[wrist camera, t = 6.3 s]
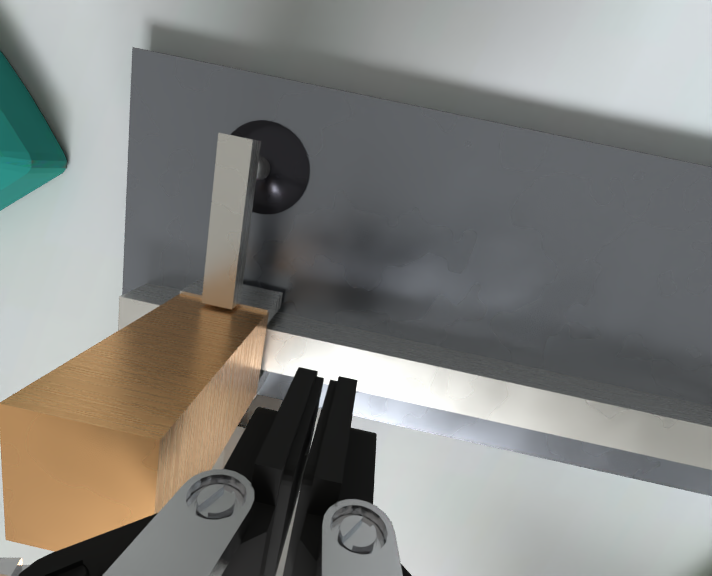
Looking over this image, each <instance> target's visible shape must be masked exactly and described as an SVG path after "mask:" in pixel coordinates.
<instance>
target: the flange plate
mask: <svg viewBox="0 0 712 576" xmlns="http://www.w3.org/2000/svg"><path fill="white" fill-rule="evenodd" d="M218 133H223V134H229V135H234V136H238V137H243V138H248V139H252V140H257V141H261V146H260V154H259V156H262V157H264V158H265V159H267V161H268V162H269V164H270V173H269V175H268V176H267V177H266V178H265V179H262V180H256V185H255V193H254V201H253V209H252V217H251V224H250V232H249V240H248V248H247V256H246V263H245V271H244V279H243V284H245V285H250V286H254V287H259V288H263V289H268V290H273V291H277V292H282V293H283V295H282V301H281V307H280V309H279V310H278V312H283V313H288V314H292V315H297V316H301V317H306V318H310V319H315V320H319V321H324V322H329V323H333V324H338V325H342V326H347V327H351V328H356V329H360V330H365V331H370V332H374V333H379V334H383V335H388V336H392V337H397V338H401V339H406V340H411V341H415V342H420V343H424V344H429V345H433V346H438V347H442V348H447V349H452V350H456V351H461V352H465V353H470V354H474V355H479V356H483V357H488V358H493V359H497V360H502V361H506V362H511V363H515V364H520V365H524V366H529V367H533V368H538V369H543V370H547V371H552V372H556V373H561V374H565V375H570V376H574V377H579V378H584V379H588V380H593V381H597V382H602V383H606V384H611V385H615V386H620V387H625V388H629V389H634V390H638V391H643V392H647V393H652V394H656V395H661V396H666V397H670V398H675V399H679V400H684V401H688V402H693V403H697V404H702V405H707V406H711V407H712V167H709V166H704V165H699V164H694V163H689V162H685V161H680V160H675V159H670V158H665V157H660V156H656V155H651V154H646V153H641V152H636V151H631V150H627V149H622V148H617V147H612V146H607V145H602V144H598V143H593V142H588V141H583V140H578V139H574V138H569V137H564V136H559V135H554V134H549V133H545V132H540V131H535V130H530V129H525V128H520V127H516V126H511V125H506V124H501V123H496V122H491V121H487V120H482V119H477V118H472V117H467V116H462V115H458V114H453V113H448V112H443V111H438V110H433V109H429V108H424V107H419V106H414V105H409V104H404V103H400V102H395V101H390V100H385V99H380V98H375V97H371V96H366V95H361V94H356V93H351V92H346V91H342V90H337V89H332V88H327V87H322V86H317V85H313V84H308V83H303V82H298V81H293V80H288V79H284V78H279V77H274V76H269V75H264V74H259V73H255V72H250V71H245V70H240V69H235V68H230V67H226V66H221V65H216V64H211V63H206V62H201V61H197V60H192V59H187V58H182V57H177V56H172V55H168V54H163V53H158V52H153V51H148V50H143V49H139V48H134V47H133V49H132V74H131V98H130V122H129V146H128V171H127V195H126V219H125V243H124V268H123V292H122V295H123V294H125V293H128V292H130V291H132V290H134V289H136V288H138V287H140V286H142V285H144V284H146V283H151V284H155V285H160V286H165V287H169V288H174V289H178V290H182V289H184V288H186V287H187V286H189V285H191V284H193V283H194V282H196V281H198V280H199V279H201V278H203V277H204V273H205V262H206V252H207V242H208V232H209V222H210V212H211V202H212V192H213V182H214V172H215V162H216V152H217V142H218ZM293 378H294V377H292V376H288V375H283V374H279V373H274V372H270V374H269V375H268V377H267V379H266V380H265V382H264V384H263V385H262V387H261V389H260V391H259V392H258V394H259V395H263V396H268V397H272V398H277V399H281V400H284V398H285V395H286V393H287V391H288V389H289V387H290V385H291V382H292V380H293ZM327 388H328V384H324V383H323V387H322V392H321V397H320V402H319V407H318V408H321V409H322V406H323V403H324V399H325V396H326V392H327ZM353 416H357V417H361V418H366V419H370V420H375V421H379V422H384V423H388V424H393V425H397V426H402V427H406V428H411V429H415V430H419V431H424V432H428V433H433V434H437V435H442V436H446V437H451V438H455V439H460V440H464V441H468V442H473V443H477V444H482V445H486V446H491V447H495V448H500V449H504V450H509V451H513V452H518V453H522V454H526V455H531V456H535V457H540V458H544V459H549V460H553V461H558V462H562V463H567V464H571V465H576V466H580V467H584V468H589V469H593V470H598V471H602V472H607V473H611V474H616V475H620V476H625V477H629V478H633V479H638V480H642V481H647V482H651V483H656V484H660V485H665V486H669V487H674V488H678V489H683V490H687V491H691V492H696V493H700V494H705V495H709V496H712V470H710V469H705V468H701V467H696V466H692V465H687V464H683V463H678V462H674V461H669V460H665V459H660V458H656V457H651V456H647V455H642V454H638V453H633V452H629V451H624V450H620V449H615V448H611V447H606V446H602V445H597V444H593V443H588V442H584V441H579V440H575V439H571V438H566V437H562V436H557V435H553V434H548V433H544V432H539V431H535V430H530V429H526V428H521V427H517V426H512V425H508V424H503V423H499V422H494V421H490V420H485V419H481V418H476V417H472V416H467V415H463V414H458V413H454V412H449V411H445V410H440V409H436V408H431V407H427V406H422V405H418V404H414V403H409V402H405V401H400V400H396V399H391V398H387V397H382V396H378V395H373V394H369V393H364V392H360V391H356V395H355V402H354V408H353Z"/></svg>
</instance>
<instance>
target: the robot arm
mask: <svg viewBox="0 0 712 576" xmlns="http://www.w3.org/2000/svg"><path fill="white" fill-rule="evenodd" d="M317 375H318V371H315V370H311V369H306V368H302V367H298V369H297V371H296V374H295V376H294V378H293V380H292V382H291V385H290V387H289V389H288V391H287V393H286V395H285V398H284V400H283V402H282V404H281V406H280V409H279V411H274V410H270V409H266V408H261V407H258V408H257V409H256V410H255V412H254V414H253V416H252V417H251V419H250V421H249V423H248V425H247V427H246V428H245V430H244V432H243V434H242V436H241V437H240V439H239V441H238V443H237V445H236V447H235V448H234V450H233V452H232V454H231V456H230V457H229V459H228V461H227V463H226V465H225V466H224V468H223V469H213V470H208V471H204V472H201V473H199V474H197V475H195V476H193V477H192V478H190V479H189V480H188V481H187V482H186V483H184V484H183V486H182V487H181V488H180V489H179V490H178V491H177V492H176V493H175V495H174V496H173V497H172V498H171V499H170V500H169V501H168V502H167V504H166V505H165V506H164V507H163V508H162V509H161V510H160V511H159V513H156V514H154V515H151V516H148V517H146V518H143V519H140V520H138V521H135V522H132V523H130V524H127V525H124V526H122V527H119V528H116V529H114V530H111V531H108V532H106V533H103V534H101V535H98V536H95V537H93V538H90V539H87V540H85V541H82V542H79V543H77V544H74V545H71V546H69V547H66V548H63V549H61V550H58V551H55V552H53V553H51V554H49V555H47V556H45V557H43V558H40V559H38V560H37V561H35V562H34V563H33V564H31V565H22V558H0V576H276V573H277V569H278V566H279V562H280V559H281V555H282V551H283V548H284V544H285V541H286V537H287V534H288V530H289V526H290V523H291V519H292V516H293V512H294V509H295V505H296V501H297V498H298V502H297V507H296V512H295V517H294V522H293V527H292V532H291V537H290V542H289V547H288V552H287V557H286V562H285V566H284V571H283V576H412V575H411V574H410V573H409V572H408V571H407V570H406V569H405V568H404V566H403V565H402V564H401V563H400V557H399V552H398V546H397V541H396V535H395V531H394V528H393V525H392V522H391V521H390V519H389V518H388V517H387V515H386V514H385V513H384V512H383V511H382V510H380V509H379V508H378V507H377V506H375V505H373V493H374V474H375V455H376V433H372V432H368V431H363V430H359V429H354V428H351V421H352V415H353V408H354V402H355V395H356V389H357V382H358V380H356V379H351V378H347V377H342V376H339V377H338V381H336V380H331V379H330V381H329V385H328V388H327V392H326V396H325V399H324V403H323V406H322V410H321V413H320V417H319V420H318V424H317V427H316V431H315V434H314V438H313V441H312V436H313V431H314V427H315V422H316V417H317V412H318V407H319V402H320V397H321V392H322V387H323V382H324V378H322V377H318V376H317ZM311 441H312V445H311ZM310 446H311V448H310ZM309 451H310V452H309ZM299 491H300V492H299ZM298 494H299V497H298Z"/></svg>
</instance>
